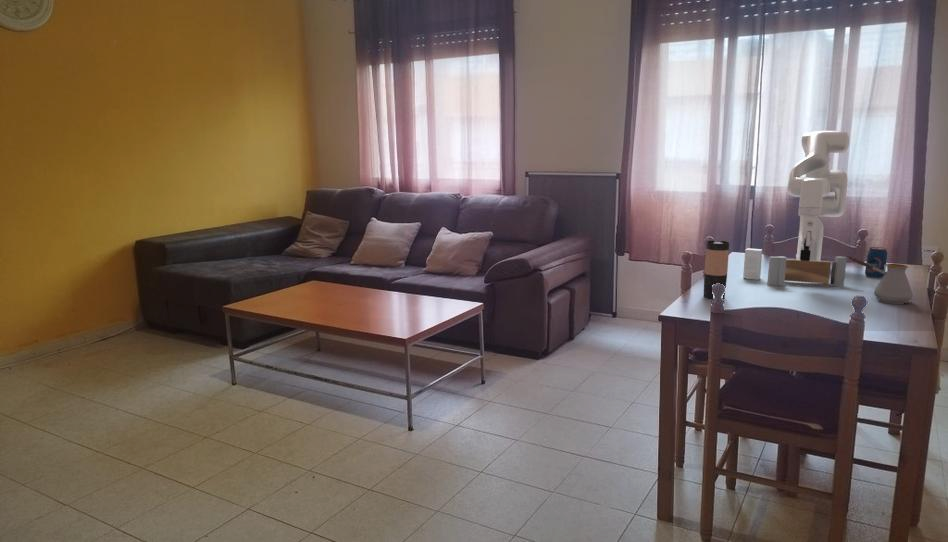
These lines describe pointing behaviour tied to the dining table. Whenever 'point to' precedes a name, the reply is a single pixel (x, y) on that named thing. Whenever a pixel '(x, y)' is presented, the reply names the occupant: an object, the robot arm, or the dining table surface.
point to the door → (809, 271)
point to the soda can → (876, 262)
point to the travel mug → (715, 266)
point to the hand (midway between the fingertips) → (804, 260)
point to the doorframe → (778, 276)
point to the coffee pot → (891, 283)
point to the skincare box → (752, 263)
